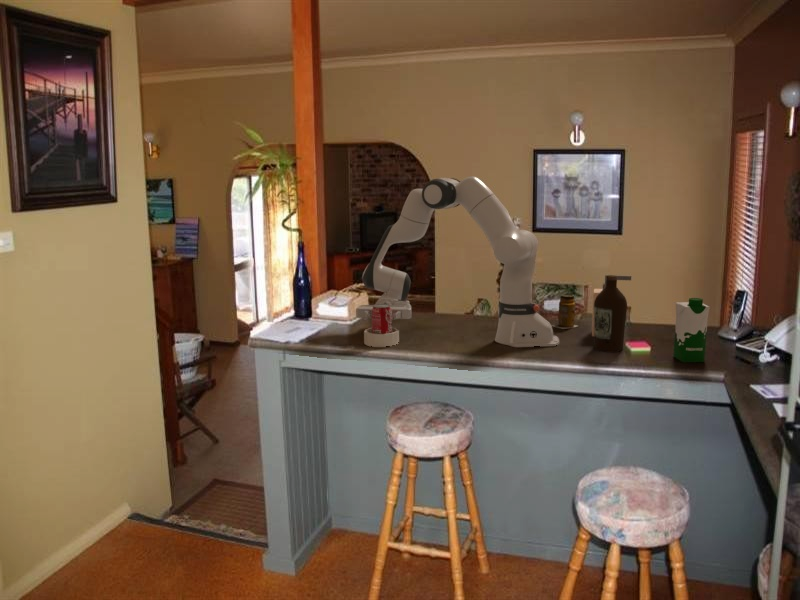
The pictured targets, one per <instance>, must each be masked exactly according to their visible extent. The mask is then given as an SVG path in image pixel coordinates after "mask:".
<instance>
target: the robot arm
mask: <svg viewBox="0 0 800 600" xmlns="http://www.w3.org/2000/svg"><path fill="white" fill-rule="evenodd" d="M458 206H462V207H463V208H464V209H465V211H466V212H467V213H468V214H469V215H470V217H471V218H472V219H473V221H475V223H476V224H477V225H478V227H479V228H480V229H481V231H482V232H483V234H484V235H485V237H486V238H487V241H488V242H489V245H490V246H491V248H492V251H493V255H494V258H495V259H496V260H497V261H498V262H499V263H501V264H502V265H503V269H502V273H501V275H500V280H499V282H500V283H499V301H498V305H497V315H498V324H497V330H496V334H495V337H494V341H495V342H496V343H498V344H500V345H506V346H510V347H513V348H534V346H540V347H557V346H559V345H560V338H559V337H558V336H557V335H554V330H553V326H551V325H552V324H551V323H550V322H549V321H548V320H547V319H546V318H544V316H542V315H540V313H538V312H539V311H540V306H539V305H538V303H536V302H533V300H532V299H533V297H532V296H533V278H534V277H533V276H534V271H535V265H536V260H537V254H538V253H537V252H538V248H539V240H538V238H537V236H536V235H535V234H534V233H533V232H532V231H529V230H526V229H518V228H517V227H516V225H515V223H514V222H513V220H512V218H511V216H510V213H509V212H510V211H508V209H507V208H506V206H505V205H504V204H503V203H502V202H501V200H500V199H499V197H497V196H496V195H495V193H494V192H493V191H492V190H491V188H489V187H488V185H486V184H485V182H483V181H482V180H481V179H480V178H479V177H477V176H473V175H472V176H467V177H465V178H463V179H462V180H459V179H457V178H454V177H451V178H448V177H438V178H433V179H431V180H429V181H428V182H426V183H425V184H424V186H423V187H422V188H415V189H414V188H413V189H412V190H411V191H410V192H409V193H408V196H407V197H406V200H405V201H404V203H403V206H402V208H401V209H402V210H401V213H400V216H399V218H398V220H397V221H396V222H395V223H394V224H391V225H389V226H388V227H387V228H386V230H385V232H384V233H383V235H382V237H381V238H380V241H379V243H378V245H377V247H376V248H375V251H374V253H373V255H372V257H371V259H370V260H369V261H370V262H369V263H368V264H367V265H366V267H365V269H364V271H363V272H362V276H361V281H362V283H363V285H364V286H365V287H366V289H369V290H373V291H378V292H381V293H383V294H381V296H380V297H379V298H378V299H377V301H376V302H375V304H389V305H390V307H391V309H392V321H394V320H399V319H400V320H401V319H403V320H404V319H406V320H409V319H412V305H411V304H410V300H407V298H408V296H409V293H410V289H411V284H412V280H411V277H410V276H409V274H408V273H407V272H405V271H401V270H398V269H394V268H391V267H389V266H385V265H383V263H382V262H383V260H384V257H385V256H386V254H387V252H388V250H389V248H390V247H391V246H392V245H394V244H399V243H400V244H401V243H413V242H416V241H419V240H421V239H422V238H424V236H425V234H427V230H428V228H429V225H430V222H431V218H432V215H433V213H434V211H435V210H449V209H451V208H457V207H458ZM373 305H374V304H361V305H358V306H357V307H356V308H355V316H356V318H358V319H372V308H373ZM556 345H557V346H556Z"/></svg>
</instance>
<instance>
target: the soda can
mask: <svg viewBox="0 0 800 600" xmlns="http://www.w3.org/2000/svg"><path fill="white" fill-rule="evenodd" d="M372 305H373V308H372V318H371V328H372V333H374V334H387V333H392V327H393V320H392V309H391V307H390V305H389V304H376V303H375V304H372Z"/></svg>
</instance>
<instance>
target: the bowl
mask: <svg viewBox="0 0 800 600" xmlns="http://www.w3.org/2000/svg"><path fill="white" fill-rule="evenodd" d="M398 342H400V329H398V328H396V327H393V326H392V333H387V334H374V333H372V327H369V328H365V329H364V331H363V343H364V345H366V346H367V347H371V346H372V347H371V348H387V347H386V346H390V347H393V346H392V345H395V346H397V345H398V344H399V343H398ZM396 344H397V345H396Z"/></svg>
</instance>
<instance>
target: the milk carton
mask: <svg viewBox="0 0 800 600" xmlns="http://www.w3.org/2000/svg"><path fill="white" fill-rule="evenodd" d="M710 307H711V306H709V305H707V304H705V303H704V300H703V298H700V297H690V298H689V299H688V302H687V301H685V302H684V301H682V302H675V327H674V328H675V329H674V345H673V357H674V359H676V360H678V361H680V362H681V363H705V360H706V359H705V357H706V345H707V333H708V331H707V330H708V320H709V319H708V317H709V313H710Z"/></svg>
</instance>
